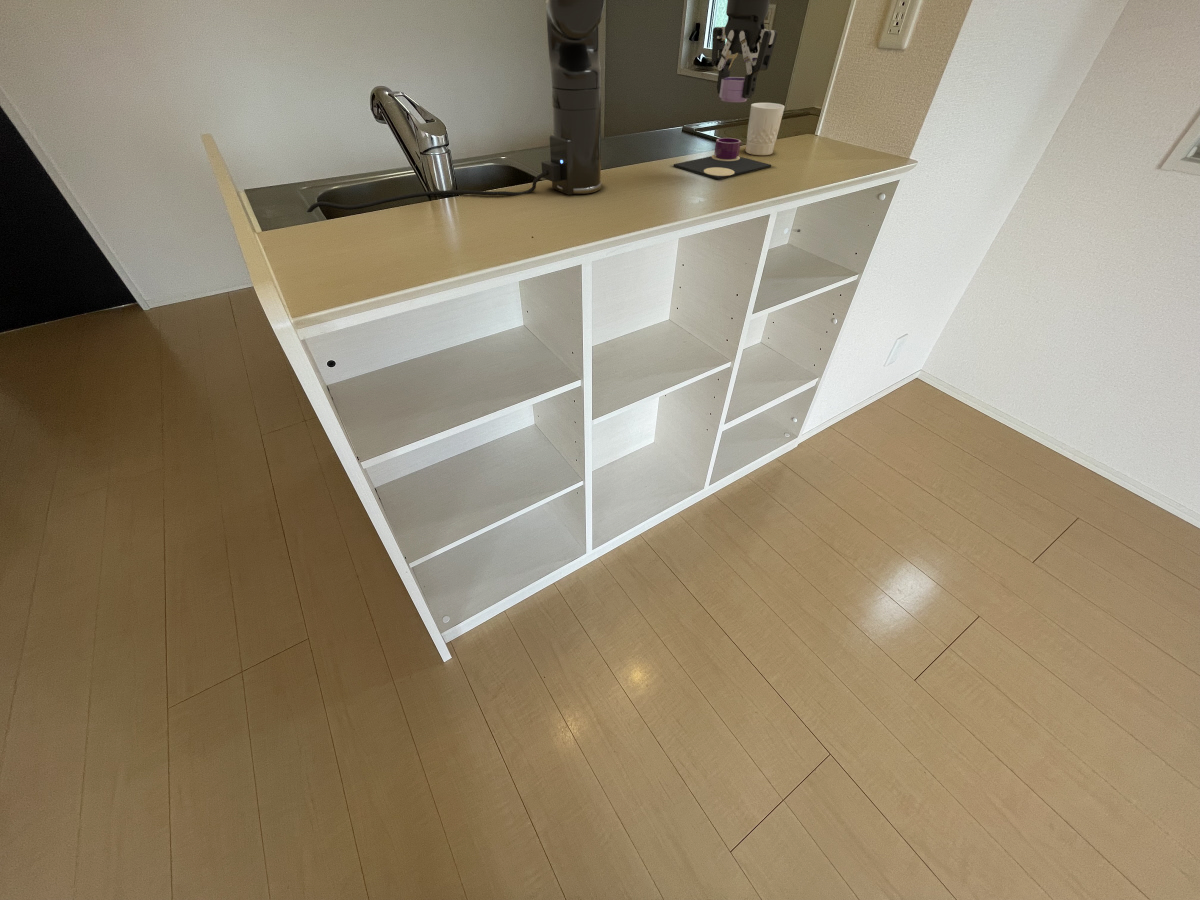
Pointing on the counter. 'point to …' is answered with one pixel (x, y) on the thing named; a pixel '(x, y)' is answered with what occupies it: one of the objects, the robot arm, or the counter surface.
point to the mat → (721, 166)
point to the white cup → (763, 127)
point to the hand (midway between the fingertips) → (734, 95)
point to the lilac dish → (732, 89)
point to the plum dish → (727, 148)
